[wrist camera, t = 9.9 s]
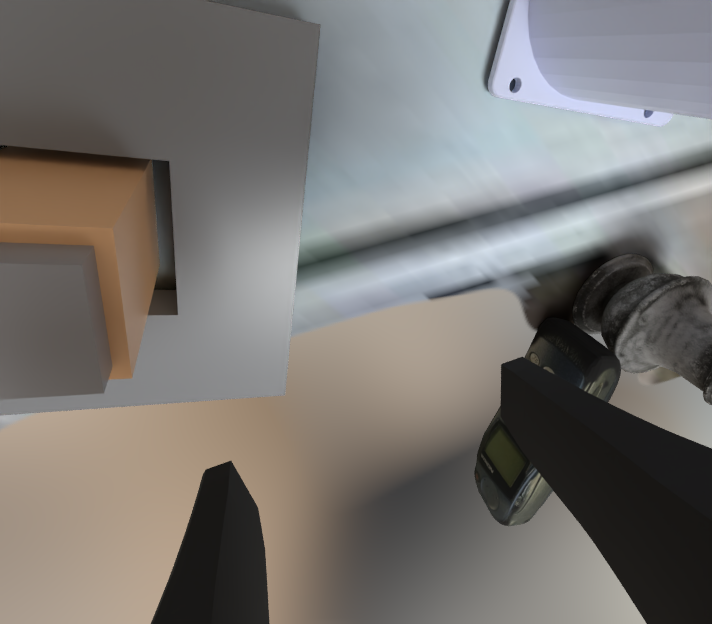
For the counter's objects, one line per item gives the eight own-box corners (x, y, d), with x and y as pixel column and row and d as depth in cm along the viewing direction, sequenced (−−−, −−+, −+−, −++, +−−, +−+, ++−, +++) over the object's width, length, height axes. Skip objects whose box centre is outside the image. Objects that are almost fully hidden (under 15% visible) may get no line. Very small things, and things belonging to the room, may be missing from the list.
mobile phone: (598, 361, 20) (492, 556, 27) (643, 361, 21) (530, 549, 28) (533, 311, 24) (455, 490, 31) (573, 313, 25) (489, 486, 32)
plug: (151, 158, 15) (102, 246, 8) (160, 264, 17) (125, 405, 10) (11, 144, 13) (-182, 236, 7) (38, 261, 15) (-92, 420, 9)
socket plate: (307, 27, 14) (320, 24, 12) (279, 367, 21) (285, 395, 19) (-311, -102, 9) (-420, -133, 8) (-89, 386, 16) (-122, 423, 15)
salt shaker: (584, 254, 22) (871, 414, 13) (671, 243, 24) (990, 378, 14) (556, 344, 26) (769, 527, 16) (634, 329, 27) (874, 488, 17)
